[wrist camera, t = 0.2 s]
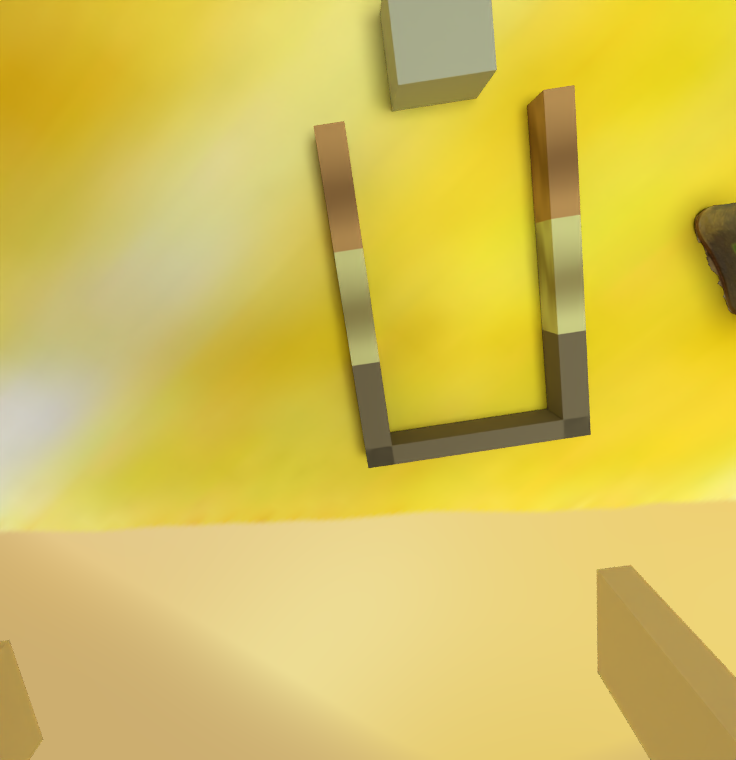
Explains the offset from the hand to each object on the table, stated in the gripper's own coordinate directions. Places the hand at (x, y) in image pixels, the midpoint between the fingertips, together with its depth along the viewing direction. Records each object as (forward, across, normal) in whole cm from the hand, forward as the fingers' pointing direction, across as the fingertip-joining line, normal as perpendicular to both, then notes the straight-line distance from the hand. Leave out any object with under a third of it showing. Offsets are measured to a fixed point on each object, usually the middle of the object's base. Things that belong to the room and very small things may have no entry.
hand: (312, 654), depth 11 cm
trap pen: (+28, +10, -2) cm, 29 cm away
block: (+28, +9, +22) cm, 36 cm away
